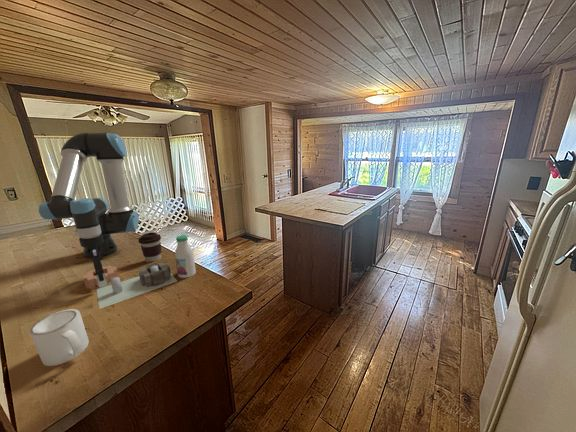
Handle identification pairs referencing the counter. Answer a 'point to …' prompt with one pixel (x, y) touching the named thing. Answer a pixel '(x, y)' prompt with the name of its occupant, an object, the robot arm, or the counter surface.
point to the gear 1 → (92, 280)
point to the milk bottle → (184, 258)
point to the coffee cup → (151, 246)
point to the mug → (60, 337)
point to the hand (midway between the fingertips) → (102, 280)
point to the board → (126, 289)
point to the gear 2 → (155, 275)
